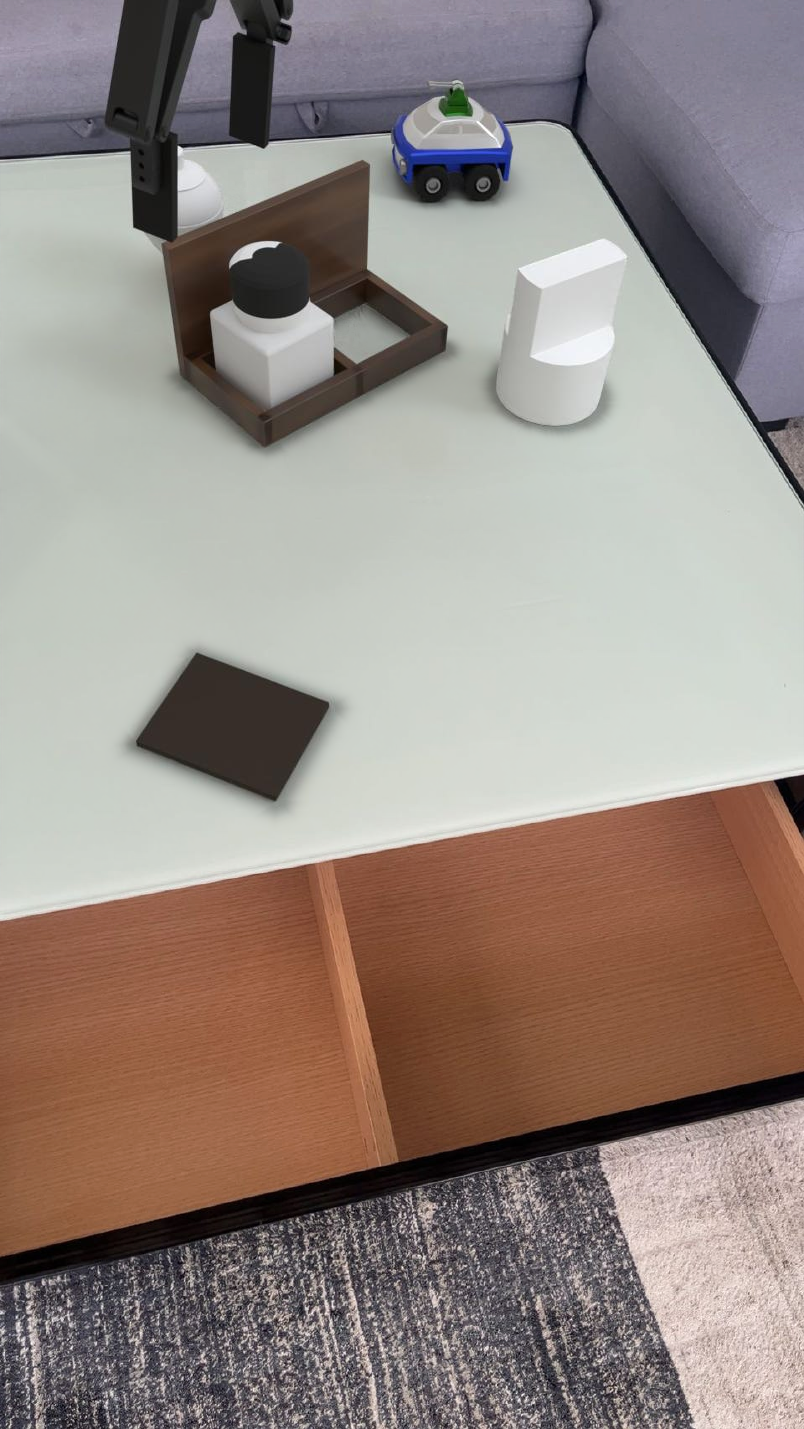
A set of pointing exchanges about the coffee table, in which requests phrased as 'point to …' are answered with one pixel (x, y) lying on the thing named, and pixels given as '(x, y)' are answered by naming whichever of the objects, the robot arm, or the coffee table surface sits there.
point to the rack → (336, 248)
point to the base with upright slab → (561, 334)
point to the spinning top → (194, 199)
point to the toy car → (451, 145)
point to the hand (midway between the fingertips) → (204, 184)
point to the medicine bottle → (272, 326)
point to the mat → (234, 725)
